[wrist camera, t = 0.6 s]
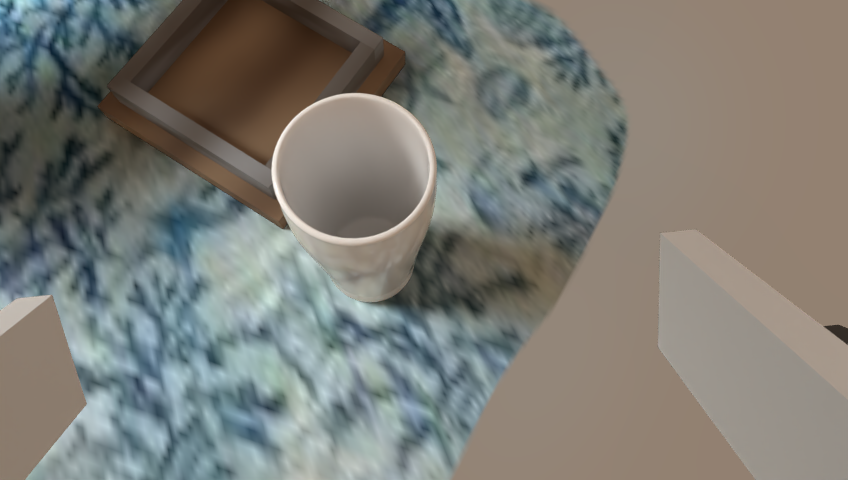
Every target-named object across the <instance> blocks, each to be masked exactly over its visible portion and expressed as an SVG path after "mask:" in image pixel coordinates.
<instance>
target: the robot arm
mask: <svg viewBox="0 0 848 480" xmlns="http://www.w3.org/2000/svg"><path fill="white" fill-rule="evenodd" d="M658 316H659V317H658V348H659V349H660V351H661V352H662V354H663V355H664V356H665V358H666V359H667V360H668V362H669V363H670V364H671V366H672V367H673V368H674V370H675V371H676V372H677V374H678V375H679V377H680V378H681V379H682V381H683V382H684V383H685V385H686V386H687V387H688V389H689V390H690V392H691V393H692V394H693V396H694V397H695V398H696V400H697V401H698V402H699V404H700V405H701V407H702V408H703V409H704V410H705V412H706V413H707V415H708V416H709V417H710V418H711V420H712V421H713V423H714V424H715V425H716V427H717V428H718V430H719V431H720V432H721V434H722V435H723V436H724V438H725V439H726V440H727V442H728V443H729V445H730V446H731V447H732V449H733V450H734V451H735V453H736V454H737V455H738V457H739V458H740V459H741V461H742V462H743V464H744V465H745V466H746V468H747V469H748V470H749V472H750V473H751V474H752V476H753V477H754V479H755V480H848V328H845V327H843V326H840V325H832V326H822V325H821V324H820V323H818V322H817V321H816V320H814V319H813V318H812V317H810V316H809V315H808V314H806V313H805V312H804V311H802V310H801V309H800V308H798V307H797V306H796V305H795V304H793V303H792V302H791V301H789V300H788V299H787V298H786V297H784V296H783V295H782V294H780V293H779V292H777V291H776V290H775V289H774V288H772V287H771V286H770V285H769V284H767V283H766V282H764V281H763V280H762V279H760V278H759V277H758V276H757V275H755V274H754V273H753V272H752V271H750V270H749V269H748V268H746V267H745V266H744V265H742V264H741V263H740V262H738V261H737V260H735V258H733V257H732V256H731V255H729V254H728V253H727V252H725V251H724V250H723V249H721V248H720V247H719V246H717V245H716V244H715V243H713V242H712V241H711V240H710V239H708V238H707V237H706V236H704V235H703V234H702V233H700V232H699V231H698V230H697V229H693V230H683V231H673V232H663V233H660V263H659V314H658ZM86 404H87V403H86V400H85V397H84V394H83V391H82V388H81V385H80V381H79V378H78V375H77V372H76V369H75V366H74V362H73V359H72V356H71V353H70V350H69V347H68V343H67V340H66V337H65V334H64V331H63V328H62V325H61V321H60V318H59V315H58V312H57V309H56V306H55V302H54V299H53V296H52V295H46V296H36V297H26V298H17V299H16V300H14V301H13V302H12V303H10V304H9V305H7V306H6V307H5V308H3V309H2V310H1V311H0V480H25V479H26V477H27V476H28V475H29V474H30V473H31V471H32V470H33V469H34V468H35V467H36V465H37V464H38V463H39V462H40V460H41V459H42V458H43V457H44V456H45V454H46V453H47V452H48V451H49V449H50V448H51V447H52V446H53V445H54V443H55V442H56V441H57V440H58V438H59V437H60V436H61V435H62V434H63V432H64V431H65V430H66V429H67V428H68V426H69V425H70V424H71V423H72V421H73V420H74V419H75V418H76V417H77V415H78V414H79V413H80V412H81V410H82V409H83V408H84V407H85V406H86Z"/></svg>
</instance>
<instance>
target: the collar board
mask: <svg viewBox="0 0 848 480" xmlns="http://www.w3.org/2000/svg"><path fill="white" fill-rule="evenodd" d="M404 65H405V51H403V50H401V49H399V48H398V47H396V46H394V45H392V44H391V43H389V42H387V41H386V40H384V39H383V37H381V36H379V35H378V34H376V33H374V32H372V31H371V30H369V29H367V28H365V27H364V26H362V25H360V24H358V23H357V22H355V21H353V20H352V19H350V18H348V17H346V16H345V15H343V14H341V13H339V12H338V11H336V10H334V9H332V8H331V7H329V6H327V5H325V4H324V3H322V2H320V1H319V0H183V1H182V2H181V3H180V4H179V5H178V6H177V7H176V9H175V10H174V11H173V12H172V13H171V14H170V15H169V16H168V18H167V19H166V20H165V21H164V22H163V23H162V24H161V25H160V26H159V28H158V29H157V30H156V31H155V32H154V33H153V34H152V35H151V37H150V38H149V39H148V40H147V41H146V42H145V43H144V44H143V46H142V47H141V48H140V49H139V50H138V51H137V52H136V53H135V55H134V56H133V57H132V58H131V59H130V60H129V61H128V62H127V64H126V65H125V66H124V67H123V68H122V69H121V70H120V71H119V72H118V74H117V75H116V76H115V77H114V78H113V79H112V80H111V81H110V83H109V84H108V85H107V87H108V89H109V90H110V93H109V94H108V95H107V96H106V97H105V98H104V99H103V100H102V102H101V103H100V104H99V105H98V106H97V107H98V108H99V109H100V110H101V111H102V112H103V113H104V114H105V115H106V116H107V118H109V119H111V120H112V121H114V122H115V123H117V124H118V125H120V126H122V127H123V128H125V129H126V130H128V131H129V132H131V133H133V134H134V135H136V136H137V137H139V138H140V139H142V140H144V141H145V142H147V143H148V144H150V145H151V146H153V147H155V148H156V149H158V150H159V151H161V152H162V153H164V154H166V155H167V156H169V157H170V158H172V159H173V160H175V161H177V162H178V163H180V164H181V165H183V166H184V167H186V168H188V169H189V170H191V171H192V172H194V173H195V174H197V175H199V176H200V177H202V178H203V179H205V180H206V181H208V182H210V183H211V184H213V185H214V186H216V187H217V188H219V189H221V190H222V191H224V192H225V193H227V194H228V195H230V196H232V197H233V198H235V199H236V200H238V201H239V202H241V203H243V204H244V205H246V206H247V207H249V208H250V209H252V210H254V211H255V212H257V213H258V214H260V215H261V216H263V217H265V218H266V219H268V220H269V221H271V222H272V223H274V224H276V225H277V226H279V227H280V228H282V229H283V228H284V227H285V226H286V224H287V221H286V219H285V217H284V215H283V213H282V210H281V208H280V205H279V202H278V200H277V197H276V195H275V191H274V188H273V183H272V173H271V169H272V159H273V154H274V150H275V147H276V145H277V142H278V140H279V138H280V136H281V134H282V132H283V131H284V129H285V128H286V127H287V125H288V124H289V123H290V122H291V121H292V119H293V118H294V117H295V116H297V115H298V114H299V113H300V112H301V111H303V110H304V109H305V108H307V107H308V106H310V105H312V104H313V103H315V102H317V101H320V100H322V99H325V98H327V97H331V96H334V95H339V94H346V93H365V94H372V95H376V96H380V97H381V96H382V95H383V94H384V92H385V91H386V89H387V88H388V87H389V85H390V84H391V83H392V81H393V80H394V79H395V77H396V76H397V75H398V73H399V72H400V71H401V69H402V68H403V67H404Z"/></svg>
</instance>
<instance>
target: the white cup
mask: <svg viewBox="0 0 848 480" xmlns="http://www.w3.org/2000/svg"><path fill="white" fill-rule="evenodd" d="M271 173H272V183H273V188H274V191H275V195H276V197H277V200H278V202H279V205H280V208H281V210H282V213H283V215H284V217H285V219H286V221H287V223H288V225H289V227H290V229H291V231H292V232H293V234H294V236H295V237H296V239H297V240H298V242H299V243H300V244H301V246H302V247H303V248H304V249H305V250H306V252H307V253H308V254H309V255H310V256H311V257H312V258H313V259H314V260H315V261H316V262H317V263H318V264H319V265H320V266H321V267H322V269H323V270H324V271H325V272H326V273H327V274H328V275H329V276H330V278H331V279H332V281H333V283H334V284H335V285H336V287H337V288H338V289H339V290H340V291H341V292H342V293H344V294H345V295H347V296H348V297H350V298H352V299H355V300H358V301H362V302H378V301H383V300H386V299H388V298H391V297H392V296H394V295H396V294H397V293H398V292H400V291H401V290H402V289H403V288H404V287H405V285H406V284H407V283H408V281H409V279H410V278H411V275H412V273H413V270H414V265H415V260H416V257H417V255H418V253H419V250H420V248H421V246H422V243H423V241H424V239H425V236H426V234H427V231H428V229H429V226H430V222H431V219H432V215H433V211H434V205H435V199H436V187H437V162H436V155H435V151H434V147H433V144H432V142H431V139H430V137H429V135H428V133H427V132H426V130H425V128H424V127H423V126H422V124H421V123H420V122H419V121H418V120H417V119H416V117H415V116H414V115H412V114H411V113H410V112H409V111H408V110H406V109H405V108H404V107H402V106H400V105H399V104H397V103H395V102H393V101H391V100H389V99H386V98H383V97H380V96H376V95H372V94H365V93H346V94H339V95H334V96H331V97H327V98H325V99H322V100H320V101H317V102H315V103H313V104H312V105H310V106H308V107H307V108H305V109H304V110H303V111H301V112H300V113H299V114H298V115H297V116H295V117H294V118H293V119H292V121H291V122H290V123H289V124H288V125H287V127H286V128H285V129H284V131H283V132H282V134H281V136H280V138H279V140H278V142H277V145H276V147H275V150H274V154H273V159H272V169H271Z"/></svg>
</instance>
